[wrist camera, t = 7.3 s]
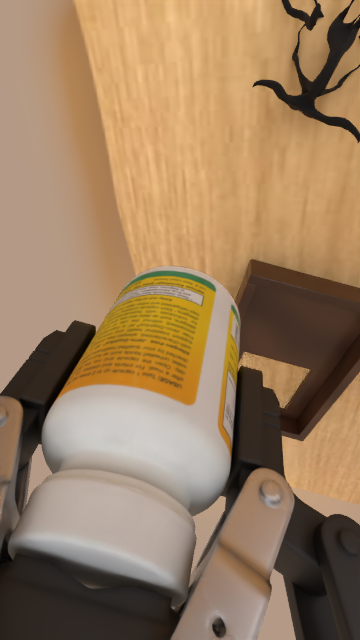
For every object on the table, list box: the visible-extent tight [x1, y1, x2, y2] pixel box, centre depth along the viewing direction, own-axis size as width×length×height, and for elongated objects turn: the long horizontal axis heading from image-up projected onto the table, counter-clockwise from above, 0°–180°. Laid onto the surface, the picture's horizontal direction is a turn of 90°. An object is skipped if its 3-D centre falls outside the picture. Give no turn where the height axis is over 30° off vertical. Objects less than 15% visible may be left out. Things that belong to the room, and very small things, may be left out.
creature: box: [253, 0, 360, 143], centre depth 16 cm, size 8×5×8 cm
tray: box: [235, 260, 360, 441], centre depth 31 cm, size 18×12×2 cm, turn 169°
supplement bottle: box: [8, 266, 240, 608], centre depth 11 cm, size 5×5×10 cm
